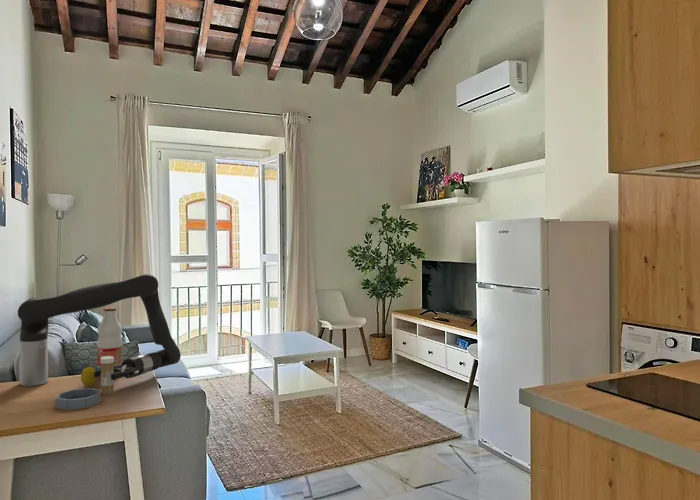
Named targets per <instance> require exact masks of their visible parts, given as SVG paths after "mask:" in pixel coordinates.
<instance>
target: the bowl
mask: <svg viewBox="0 0 700 500" xmlns="http://www.w3.org/2000/svg"><path fill="white" fill-rule="evenodd" d="M100 401H101V389H97V388H92V387H87V388H75V389H70V390H66V391H63V392H59V393H58V394H57V396H56V398H55V408H56V409H59V410H60V409H61V410H65V411H70V410H80V409H87V408H90V407H92V406H96V405H98V404H100Z"/></svg>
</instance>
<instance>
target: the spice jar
mask: <svg viewBox="0 0 700 500" xmlns="http://www.w3.org/2000/svg"><path fill="white" fill-rule="evenodd" d="M100 363H101V377H100V395H102V396H108V395H113V394H114V393H115V390H114V388H115V387H114V384H115V380H111V374H113V373H114V357H113V356H105V357H101V358H100Z"/></svg>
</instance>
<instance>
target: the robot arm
mask: <svg viewBox="0 0 700 500" xmlns="http://www.w3.org/2000/svg"><path fill="white" fill-rule="evenodd" d="M137 297H138V298H139V297H140V299H141V301H142V303H143V306H144V309H145V312H146V315H147V316H146V317H147V321H148V326H149V329H150V332H151V333H150V334H151V336H152V338H153V342H154V344H155V345H156V346H158V345H159V346H162V348H163V349H160V350H156V351H154V352H149V353H145V354H140V355H136V356H131V357H129V358H125V359H124V360H123V363H122V364H118V365H115V366H114V373H113V374H111V380H114V381H115V380H118V379H124V378H125V379H133V378H135V377H138V376H141V375H145V374H147V373H149V372H152V371H155V370H158V369H159V368H163V367H168V366H172V365H175V364H176V365H177V364H178V363H179V362H180V360H181V350H180V348H179V347H178V345H177V343H176V342H175V340H174V338H173V337H172V334H171V332H170V331H171V330H170V328H169V325H168V322H167V319H166V317H165V313H164V312H163V308H162V305H161V302H160V296H159V280H158V279H157V278H156V277H155V275H152V274H150V273H149V274H148V273H144V274H141V275H139V276H136V277H132V278H130V279H129V278H128V279H125V280H122V281H117V282H108V283H107V282H106V283H100V284H95V285H89V286H86V287H81V288H78V289H75V290H71V291H69V292H66V293H64V294H60V295H57V296H53V297H47V298H39V297H33V298H32V297H31V298H29V299H27V300H25V301H24V302H22V303H21V304H20V305H19V306H18V309H17V316H18V318H19V320H20V322H21V325H20V333H19V356H20V357H19V360H18V377H19V378H18V384H20V386H22V387H35V386H40V385H44V384H47V383H48V382H49V353H48V352H49V349H48V347H49V346H48V338H49V337H48V335H49V334H48V333H49V319H50V318H54V317H57V316H61V315H67V314H73V313H80V312H84V311H91V310H94V309H99V308H102V307H103V308H104V307H106V306H108V305H109V306H110V305H112V304H114V303H117V302H120V301H122V300H126V299H131V298H137ZM99 376H101V367H100V370H98V369H97V370H96V371H95V372H94V377H97V378H99Z"/></svg>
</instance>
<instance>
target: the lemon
mask: <svg viewBox="0 0 700 500" xmlns="http://www.w3.org/2000/svg"><path fill="white" fill-rule="evenodd" d="M95 371H97V370H96V369H95V368H94V367H92V366H87V367H86V368H84V369H83V370H82V371H81V374H80V381H81V383H82V384H83V385H84V386H86V387H87V388H92V387H91V386H93V385H94V384H95V383H96V382H97V380H98V377H94V372H95Z"/></svg>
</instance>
